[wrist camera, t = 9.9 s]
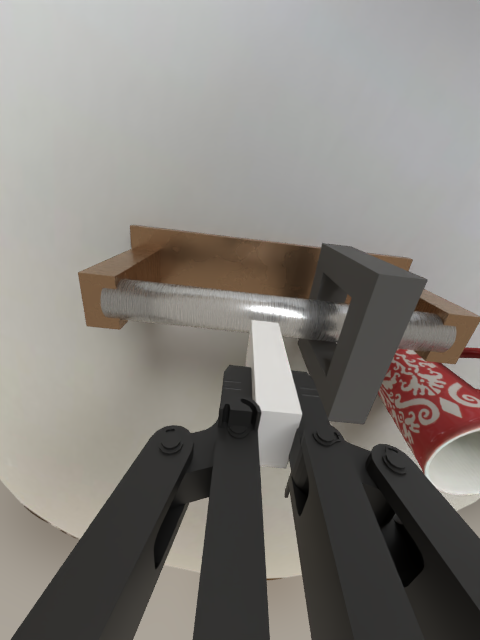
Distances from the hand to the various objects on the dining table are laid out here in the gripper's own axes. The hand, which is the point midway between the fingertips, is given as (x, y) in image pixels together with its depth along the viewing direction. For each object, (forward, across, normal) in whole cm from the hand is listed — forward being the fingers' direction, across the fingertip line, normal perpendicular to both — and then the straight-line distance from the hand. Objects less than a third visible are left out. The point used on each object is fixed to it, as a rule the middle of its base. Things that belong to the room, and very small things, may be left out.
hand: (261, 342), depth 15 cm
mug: (+15, +21, -9) cm, 27 cm away
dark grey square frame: (+10, +6, -1) cm, 12 cm away
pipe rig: (+15, +2, -1) cm, 15 cm away
